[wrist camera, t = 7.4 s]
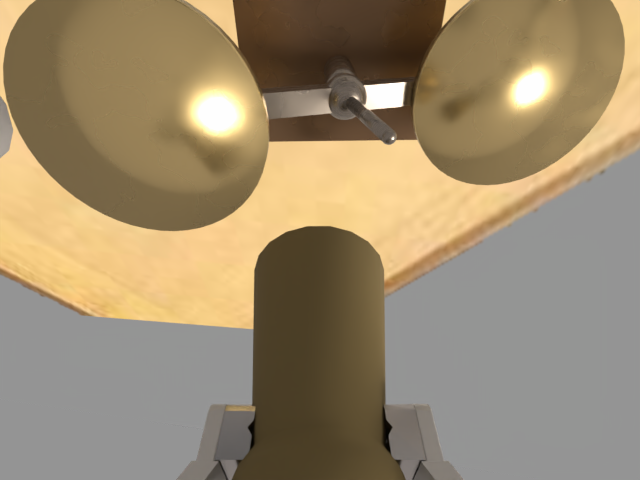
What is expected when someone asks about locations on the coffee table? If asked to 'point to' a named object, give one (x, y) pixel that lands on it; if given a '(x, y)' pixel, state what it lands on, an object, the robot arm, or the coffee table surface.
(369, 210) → the coffee table surface
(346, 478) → the olive brown pawn
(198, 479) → the robot arm
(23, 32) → the balance
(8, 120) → the inkwell
